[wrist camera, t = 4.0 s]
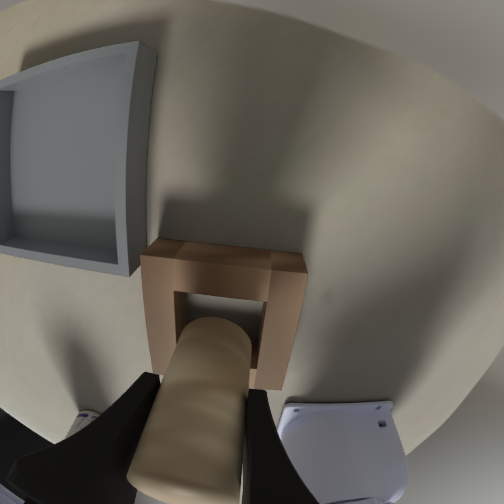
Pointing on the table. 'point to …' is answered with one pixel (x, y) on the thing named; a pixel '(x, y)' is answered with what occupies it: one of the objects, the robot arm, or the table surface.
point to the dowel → (197, 419)
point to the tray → (77, 159)
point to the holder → (224, 285)
